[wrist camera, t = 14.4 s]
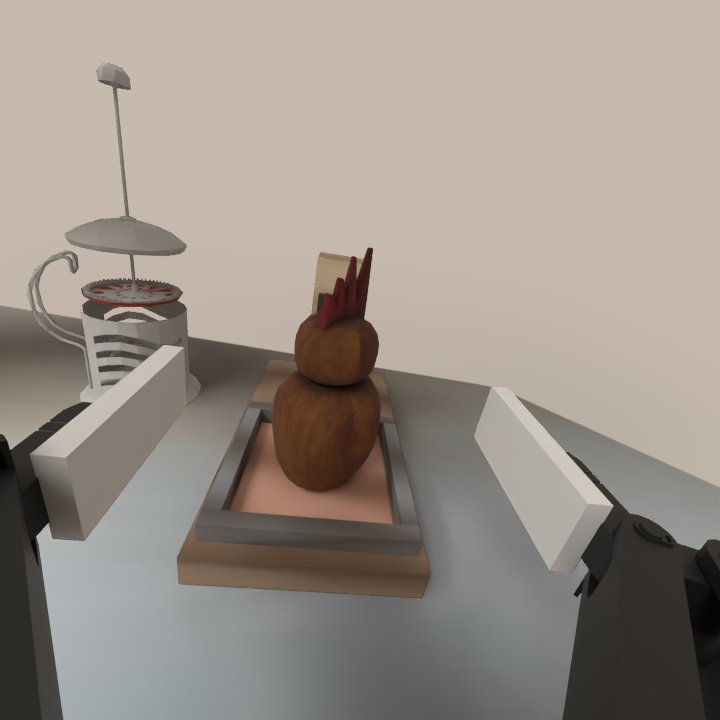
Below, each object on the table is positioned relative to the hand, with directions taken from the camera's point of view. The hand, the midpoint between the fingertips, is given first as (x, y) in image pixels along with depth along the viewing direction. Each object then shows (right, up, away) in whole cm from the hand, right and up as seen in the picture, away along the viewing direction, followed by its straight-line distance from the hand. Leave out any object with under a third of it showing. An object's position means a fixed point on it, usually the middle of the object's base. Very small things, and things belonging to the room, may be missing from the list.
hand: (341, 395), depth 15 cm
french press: (-21, -2, +18) cm, 27 cm away
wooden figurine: (-2, -6, +9) cm, 11 cm away
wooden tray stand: (-3, -6, +15) cm, 16 cm away
